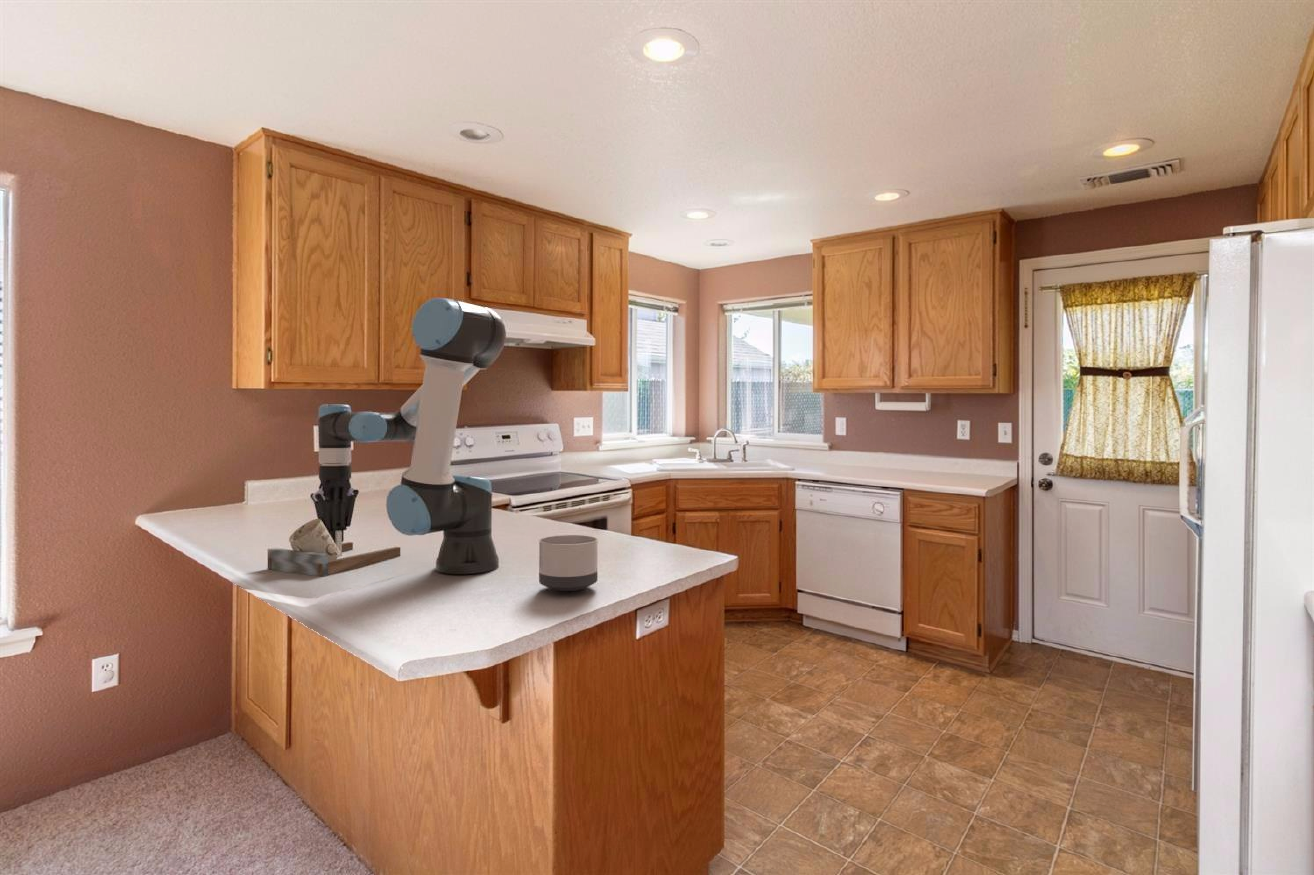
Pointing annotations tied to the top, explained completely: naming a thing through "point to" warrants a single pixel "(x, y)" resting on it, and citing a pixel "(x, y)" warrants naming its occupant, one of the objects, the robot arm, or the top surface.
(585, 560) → the planter
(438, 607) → the top surface
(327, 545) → the mug
